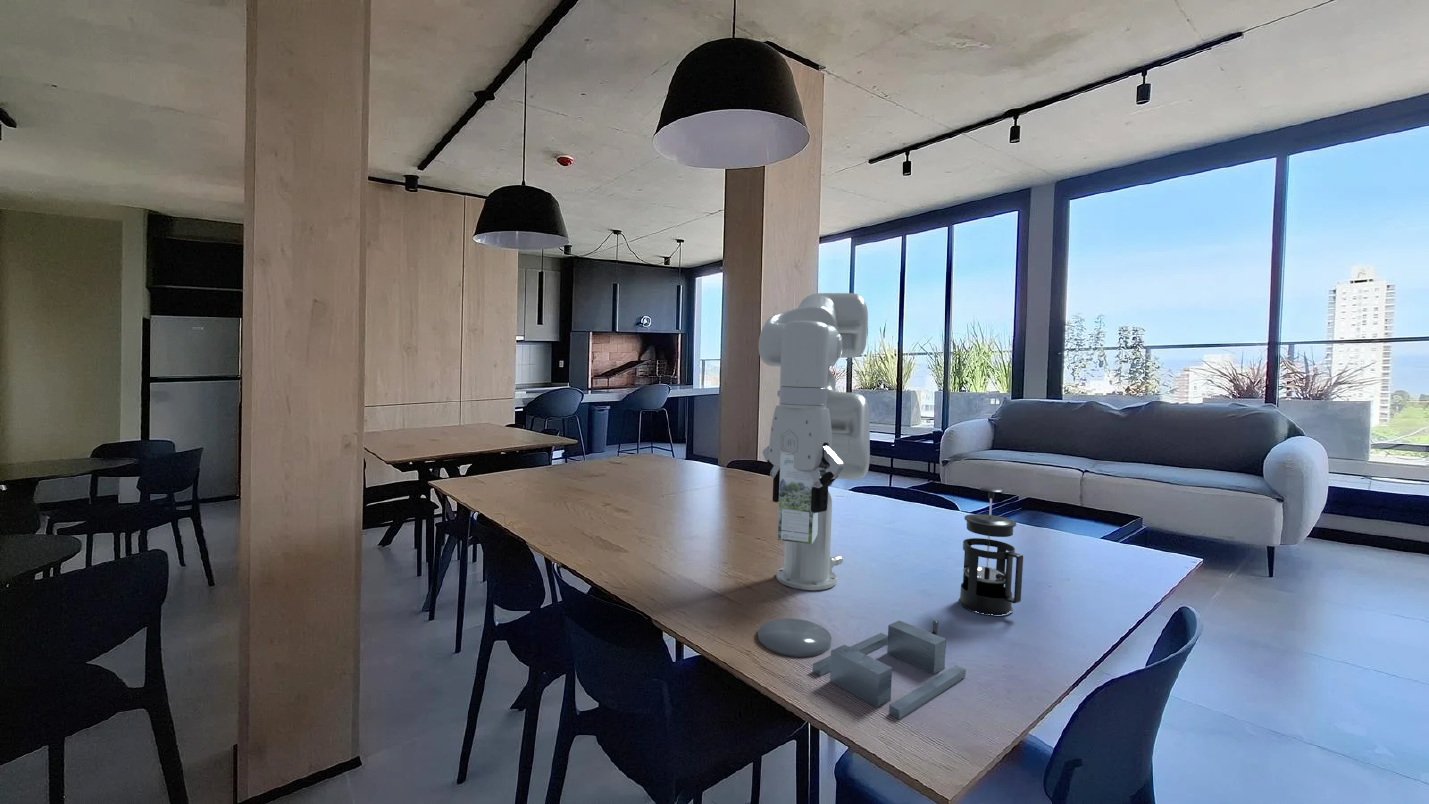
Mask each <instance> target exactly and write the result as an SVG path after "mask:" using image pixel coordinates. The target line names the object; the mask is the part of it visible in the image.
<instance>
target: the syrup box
mask: <svg viewBox="0 0 1429 804" xmlns="http://www.w3.org/2000/svg"><path fill="white" fill-rule="evenodd" d="M819 475H820V472H819ZM812 487H816V486H815V484H814V481H813V479H812V476H811V472H804V471H799V470H797V469H795V468H794V455H792V454H791V453H787V452H785V451H782V452H781V454H780V483H779V502H778V513H777V514H778V515H777V516H778V518H777V521H778V522H777V540H778V541H783V542H785V541H789V542H797V543H805V544H812V543H813V542H814V540H815V538H816V536H817V532H818V513H813V512H812V511H811V493H812Z"/></svg>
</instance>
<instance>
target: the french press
mask: <svg viewBox="0 0 1429 804" xmlns="http://www.w3.org/2000/svg"><path fill="white" fill-rule="evenodd" d="M979 490H980V491H982V492H986V493H988V499H989V513H988V514H985V513H984V514H983V513H981V514H980V513H973V514H972V513H971V514H966V515H964V518H963V519H964V521H966V529H967V530H968V531H969V532H971V533H974V534H977V535H982V536H987V538H982V537H981V538H980V537H973V538H972V537H971V538H966V539H964V540H963V542H962V550H963V551H964V559H963V569H962V570H963V575H962V577H963V579H962V580H963V581H962V583H960V592H959V593H960V594H959V599H958V604H959V605H960V604H961V605H962V606H963V608H964V607H965V608H967V609H969V610H971V611H970V612H972V611H977V612H979V613H984V614H990V615H991V614H993V615H1002V614H1007V613H1009V611H1013V610H1014V609H1013V605H1012V604H1017V603H1020V602H1022V587H1023V585H1022V584H1023V571H1024V570H1023V569H1024V567H1023V566H1024V555H1022V554H1021V553H1017V552H1016V548H1015V547H1014V546H1013V545H1011V544H1009V543H1007V542H1004V541H999V540H996V539H991V537H996V538H1008V537H1012V536H1013V535H1014V528H1015V527H1016V526H1017V522H1016V521H1015V520H1013V519H1010V518H1008V517H1004V516H998V515H993V514H992V507H993V499H995V493H996V494H1000V493H1001V494H1002V493H1004V492H1005V490H1003V489H1002V488H998V487H993V486H983V487H980V488H979ZM972 546H987V547H986V548H987V549H986V550H984V549H983V550H982V549H979V548H976V547H972ZM990 547H994V548H996V551H990ZM980 558H984V559H986V564H985V565H986V566H980V565H979V559H980ZM1014 558H1015V560H1016V563H1015V578H1014V594H1013V592H1012V581H1013V580H1012V579H1013V563H1014V562H1013V561H1014ZM990 559H991V560H996V562H995V563H996V565H995V568H992V567H989V565H990V561H989V560H990ZM1013 595H1014V597H1013ZM961 605H960V606H961ZM962 606H961V607H962ZM965 608H964V609H965ZM967 609H966V610H967ZM969 610H968V611H969Z"/></svg>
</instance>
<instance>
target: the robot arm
mask: <svg viewBox="0 0 1429 804" xmlns="http://www.w3.org/2000/svg"><path fill="white" fill-rule="evenodd" d="M868 324H869V311H868V306H867V303H866V301H865V299H864V298H863V297H862V296H861V295H860V294H858V293H855V292H849V293H848V292H847V293H846V292H842V293H841V292H836V293H835V292H834V293H833V292H831V293H830V292H827V293H826V292H822V293H821V292H820V293H812V294H810V295H809V294H808V295H807V296H806V297H805V298H803V299H802V300H801V301H800V303H799V305H798V307H797V308H794V309H790V310H787V311H783V312H780V313H777V314H773V315H772V316H769V318H768V319H767V320H766V321H765V323H764V324H763V327H762V329H761V331H760V334H759V339H758V345H757V346H758V353H759V358H760V359H761V361H762V362H763V363H764V364H765V365H766V366H770V367H777V368H779V367H780V372H779V373H780V375H779V376H780V378H779V381H780V382H779V389H778V390H777V393H776V395H777V397H778V398H779V405H776V406H775V408H774V412H773V416H772V420H771V428H770V434H769V435H770V437H769V445H768V446H767V447H765V448H764V449H763V450H762V455H763V458H764V459H765V462H766V466H767V468H768V470H769V471H770V473H769V476H770V477H771V478H773V479H772V502H774V503H779V483H780V454H781V452H782V451H785V452H787V453H791V454H792V455H794V468H795V469H797V470H799V471H804V472H811V476H812V479H813V481H814V484H815V486H816V487H812V493H811V511H812V512H813V513H818V532H817V536H816V538H815V540H814V542H813V543H812V544H805V543H797V542H789V541H784V558H783V559H784V560H783V561H784V563H783V564H784V565H783V566H782V567H780V568H778V570H777V571H776V579H777V581H778V582H779V583H781V584H782V585H784V586H786V587H790V588H793V589H798V590H802V591H803V590H804V591H821V590H822V591H823V590H827V589H830V588H833V587H835V585H836V584H837V580H838V577H837V575H836V573H834V572H833V568H834V567H835V566H839V565H842V564H843V561H844V560H843V558H842V556H841V555H835V556H831V541H832V539H831V538H832V519H833V518H832V516H833V513H832V512H833V499H832V496H831V493H830V491H829V487H832V485H833V483H834V481H836V479H837V480H838V479H839V480H850V481H851V480H860V479H863V478H864V477H865V476H866V475H867V474H868V471H869V469H870V468H869V467H870V457H871V451H870V450H871V449H870V447H871V445H870V444H871V443H870V439H871V438H870V436H871V435H870V434H871V433H870V432H871V431H870V430H871V429H870V428H871V427H870V424H871V423H870V418H871V417H870V408H869V403H868V400H867V399H866V397H865V396H864V395H863V394H861V393H855V392H843V391H836V386H837V385H836V383H837V381H836V377H835V376H834V374H833V372H832V371H831V370H830V368H831V367H832V366H835V365H836V364H837V362H838V360H839V359H840V358H846V359H848V358H858V357H859V356H861V355H862V354H863V353H864V352H865V349H866V345H867V339H868V338H867V337H868ZM819 472H820V475H819Z"/></svg>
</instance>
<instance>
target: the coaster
mask: <svg viewBox="0 0 1429 804" xmlns="http://www.w3.org/2000/svg"><path fill="white" fill-rule="evenodd" d="M757 631H758V632H757V640H758V642H759V643H760V645H762V646H763V647H764V648H765V649H767V650H769V651H771V652H774V653H776V654H779V655H782V656H788V657H794V658H807V657H816V656H819V655H822V654H824V653H826V652H827V651H828V650H830V649H831V646H832V635H831V633H830V632H829V630H827V629H826V628H825V627H823V626H822V625H820V624H817V623H815V622H814V621H813V622H812V621H809V620H804V619H799V618H790V617H789V618H788V617H787V618H775V619H772V620H768V621H766V622H764V623H762V624H761V625H760V627H758V630H757Z"/></svg>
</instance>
